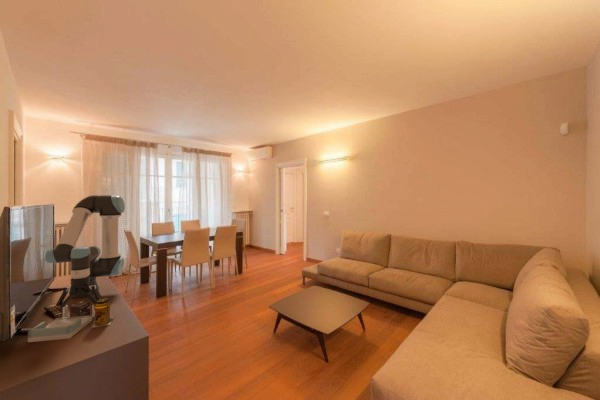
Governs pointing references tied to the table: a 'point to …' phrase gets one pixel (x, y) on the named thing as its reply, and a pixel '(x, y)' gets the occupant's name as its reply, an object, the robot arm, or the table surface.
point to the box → (80, 309)
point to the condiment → (102, 313)
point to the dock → (58, 328)
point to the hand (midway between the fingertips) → (80, 317)
